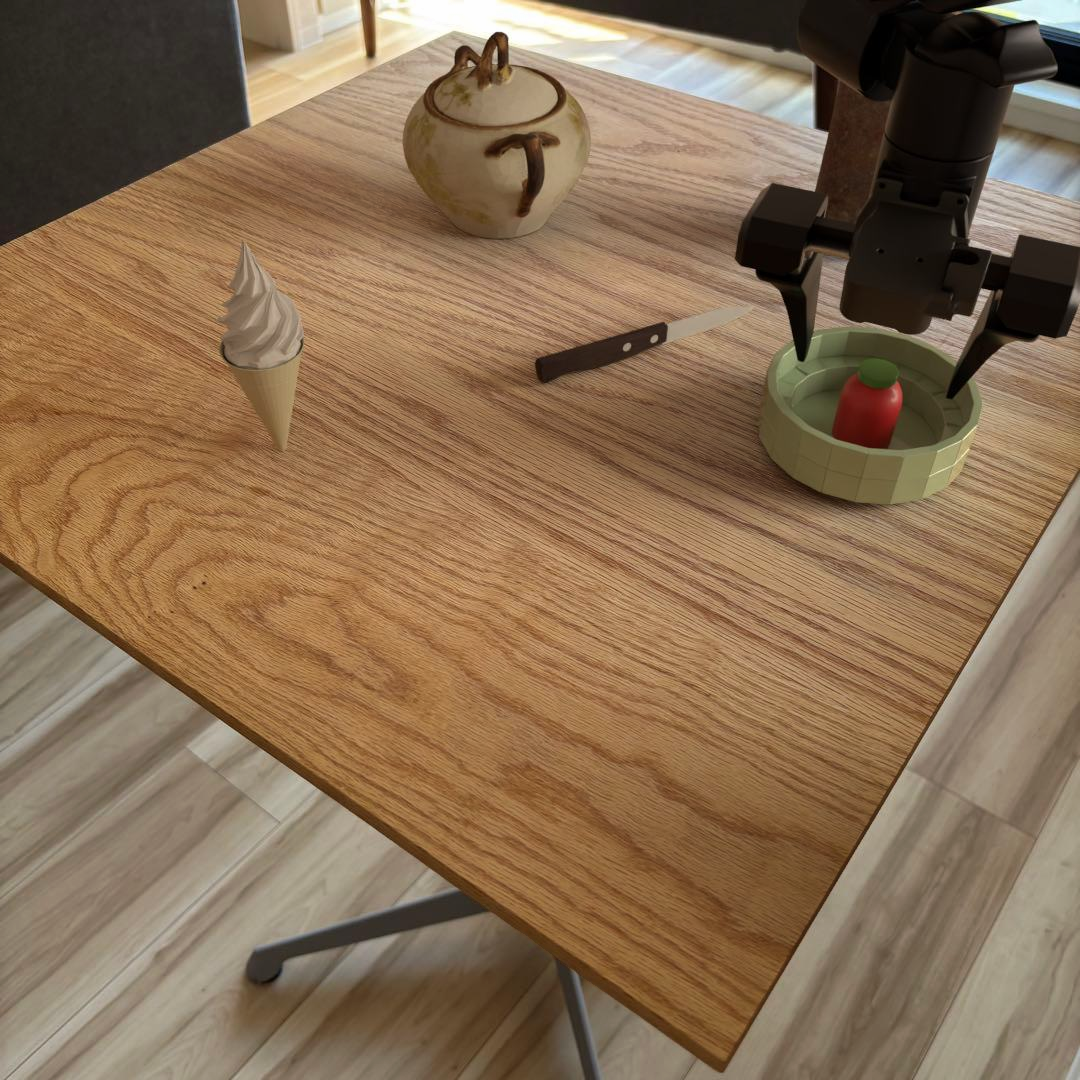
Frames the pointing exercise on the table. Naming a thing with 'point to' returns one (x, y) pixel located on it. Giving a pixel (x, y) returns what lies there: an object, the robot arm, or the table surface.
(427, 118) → the sugar bowl
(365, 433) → the table surface
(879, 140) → the candle
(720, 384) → the table surface
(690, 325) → the kitchen knife
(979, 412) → the serving bowl
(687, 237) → the table surface
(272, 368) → the ice cream cone
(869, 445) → the sriracha sauce bottle
